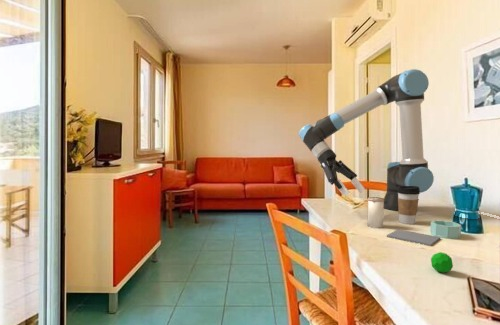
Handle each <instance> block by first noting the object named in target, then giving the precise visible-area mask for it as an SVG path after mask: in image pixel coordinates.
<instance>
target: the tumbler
mask: <svg viewBox="0 0 500 325" xmlns="http://www.w3.org/2000/svg"><path fill="white" fill-rule="evenodd" d="M367 200H368V201H367V202H368V203H367V204H368V206H367V226H368V227H369V228H373V227H374V229H382V228H383V227H384V209H385V208H384V198H383V197H377V196H369V197H367ZM381 227H382V228H381Z"/></svg>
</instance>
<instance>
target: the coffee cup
mask: <svg viewBox="0 0 500 325" xmlns="http://www.w3.org/2000/svg"><path fill="white" fill-rule="evenodd" d="M397 192H398V209H399V211H398V222H399V223H400V224H404V225H415V224H416V218H417V213H418V212H417V211H418V206H419V205H418V204H419V195H420V194H421V193H420V190H419V187H418V186H400V187H398V190H397Z"/></svg>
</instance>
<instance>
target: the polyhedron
mask: <svg viewBox="0 0 500 325" xmlns="http://www.w3.org/2000/svg"><path fill="white" fill-rule="evenodd" d="M430 263H431V264H430V265H431V267H432V268H433V269H434V270H435V271H436V272H438V273H440V274H441V273H442V274H445V273H447V272H450V271H451V270H452V269H453V268H454V267H453V266H454V263H453V259H452V257H451V256H450V255H449V254H447V253H445V252H437V253H434V254H432V256H431V258H430Z"/></svg>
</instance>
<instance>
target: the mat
mask: <svg viewBox="0 0 500 325" xmlns="http://www.w3.org/2000/svg"><path fill="white" fill-rule="evenodd" d="M386 238H391V239H394V238H395V240H401V241H404V242H409V241H410V242H409V243H413V242H415V244H418V243H420V245H423V244H424V245H423V246H428V247H432V246H433V245H434V244H435V243H437V242H439V240H441V238H440V237H437V236H434V235H432V234H424V233H421V232H415V231H411V230H404V229H400V228H399V229H396V230H394V231H392V232H390V233H388V234H386Z"/></svg>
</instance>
